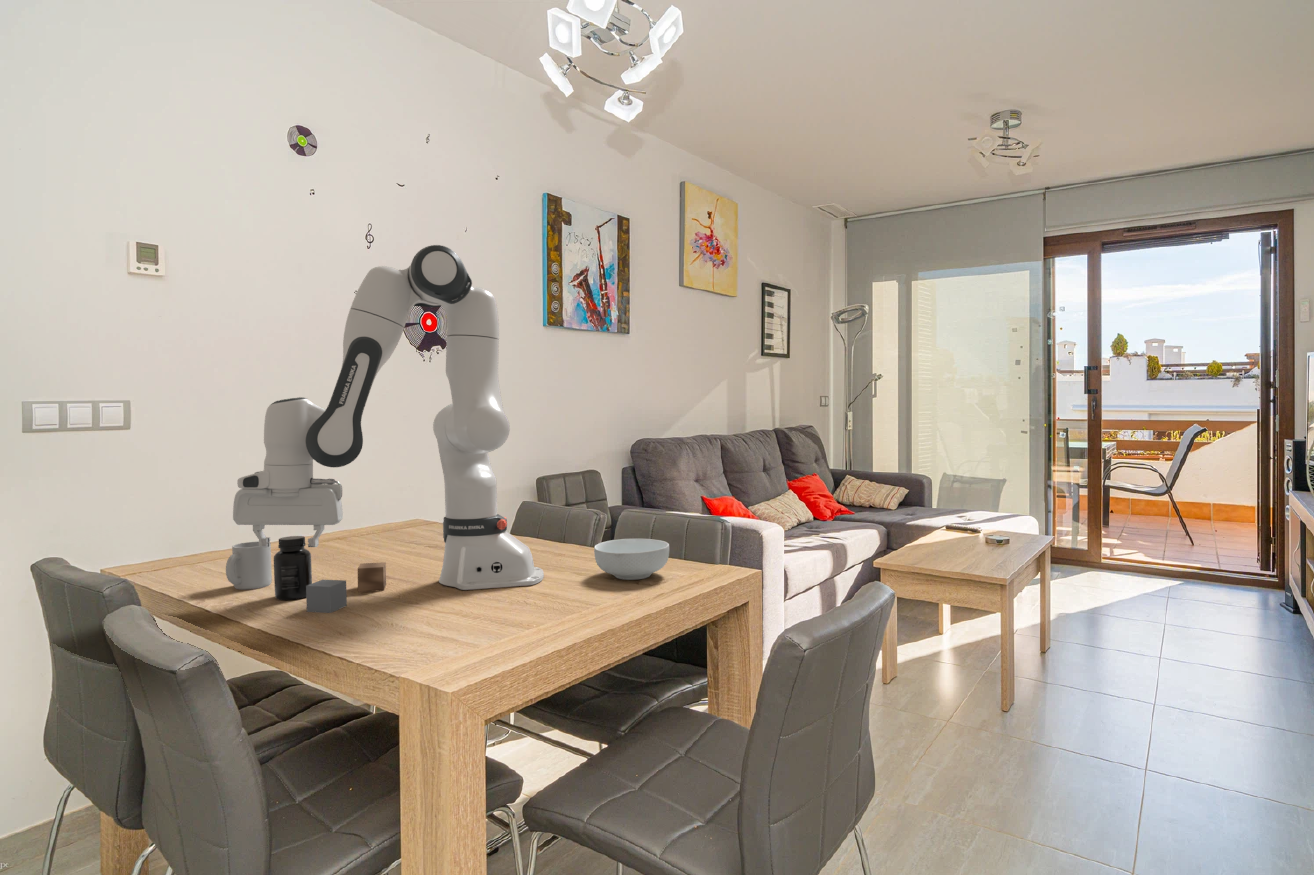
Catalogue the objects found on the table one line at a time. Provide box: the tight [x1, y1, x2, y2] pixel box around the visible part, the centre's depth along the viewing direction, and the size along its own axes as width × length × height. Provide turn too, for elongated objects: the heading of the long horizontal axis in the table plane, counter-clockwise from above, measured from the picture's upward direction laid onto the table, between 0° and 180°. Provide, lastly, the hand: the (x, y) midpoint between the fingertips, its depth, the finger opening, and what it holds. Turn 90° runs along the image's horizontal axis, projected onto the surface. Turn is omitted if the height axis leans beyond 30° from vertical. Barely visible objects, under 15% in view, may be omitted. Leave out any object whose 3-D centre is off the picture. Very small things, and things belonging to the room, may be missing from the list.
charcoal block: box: [305, 579, 348, 614], centre depth 140 cm, size 5×5×5 cm
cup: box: [225, 541, 273, 591], centre depth 157 cm, size 7×10×9 cm
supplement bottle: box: [273, 535, 313, 601], centre depth 149 cm, size 7×7×12 cm
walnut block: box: [357, 561, 387, 593], centre depth 155 cm, size 5×5×5 cm
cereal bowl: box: [593, 538, 670, 581], centre depth 165 cm, size 17×17×7 cm
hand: (289, 546), depth 148 cm, fingers open, 8 cm apart
